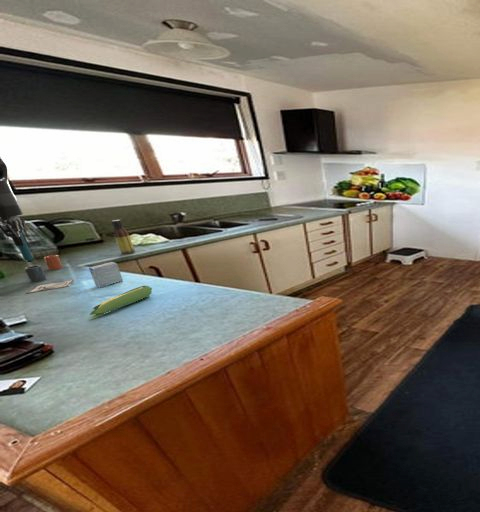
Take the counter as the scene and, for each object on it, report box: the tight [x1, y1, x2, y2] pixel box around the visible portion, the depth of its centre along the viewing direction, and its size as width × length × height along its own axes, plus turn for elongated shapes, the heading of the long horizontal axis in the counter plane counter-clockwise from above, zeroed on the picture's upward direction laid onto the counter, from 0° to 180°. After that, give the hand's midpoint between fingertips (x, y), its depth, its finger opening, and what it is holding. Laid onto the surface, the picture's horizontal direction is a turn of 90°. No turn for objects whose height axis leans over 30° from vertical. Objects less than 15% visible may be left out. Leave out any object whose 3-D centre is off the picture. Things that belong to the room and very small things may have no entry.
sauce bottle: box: [111, 219, 136, 255], centre depth 158 cm, size 7×6×20 cm
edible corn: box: [88, 285, 153, 320], centre depth 99 cm, size 5×20×5 cm, turn 162°
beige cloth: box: [25, 279, 76, 295], centre depth 116 cm, size 12×9×1 cm
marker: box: [17, 233, 34, 263], centre depth 117 cm, size 2×2×13 cm
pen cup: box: [43, 254, 64, 271], centre depth 136 cm, size 5×5×7 cm
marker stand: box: [23, 264, 47, 284], centre depth 122 cm, size 5×5×7 cm
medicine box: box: [88, 261, 124, 288], centre depth 118 cm, size 8×4×9 cm, turn 154°
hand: (21, 244), depth 117 cm, fingers closed on marker, 2 cm apart
